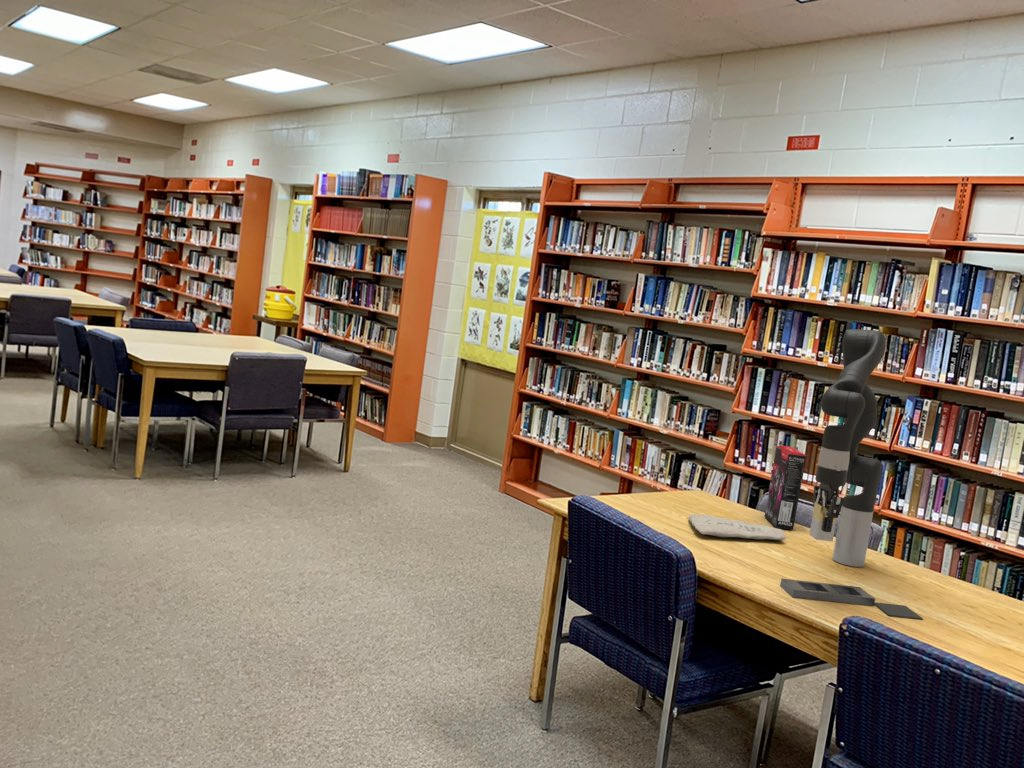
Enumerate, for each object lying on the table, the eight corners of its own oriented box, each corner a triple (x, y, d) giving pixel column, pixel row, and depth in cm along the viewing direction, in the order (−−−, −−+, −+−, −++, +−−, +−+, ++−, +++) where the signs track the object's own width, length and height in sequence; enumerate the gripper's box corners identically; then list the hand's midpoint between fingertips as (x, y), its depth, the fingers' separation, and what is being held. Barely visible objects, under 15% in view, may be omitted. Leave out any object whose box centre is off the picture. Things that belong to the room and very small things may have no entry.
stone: (697, 539, 272) (792, 552, 271) (699, 524, 272) (794, 537, 271) (685, 521, 298) (772, 533, 296) (687, 508, 297) (774, 519, 296)
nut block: (809, 534, 230) (814, 501, 229) (825, 536, 230) (831, 503, 229) (816, 539, 226) (821, 506, 225) (832, 541, 226) (838, 508, 225)
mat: (872, 603, 228) (872, 602, 228) (905, 607, 228) (905, 605, 228) (888, 616, 219) (888, 614, 219) (922, 619, 219) (922, 618, 219)
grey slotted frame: (780, 585, 234) (781, 578, 233) (858, 594, 235) (860, 587, 235) (792, 597, 225) (793, 589, 224) (873, 606, 226) (875, 598, 226)
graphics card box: (763, 516, 317) (774, 444, 314) (781, 519, 316) (793, 446, 314) (775, 529, 300) (787, 452, 297) (795, 531, 299) (807, 454, 297)
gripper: (808, 458, 233) (798, 520, 235) (830, 469, 219) (819, 535, 220) (835, 462, 233) (825, 523, 235) (858, 473, 219) (847, 538, 221)
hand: (822, 528), depth 228 cm, fingers closed on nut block, 4 cm apart
